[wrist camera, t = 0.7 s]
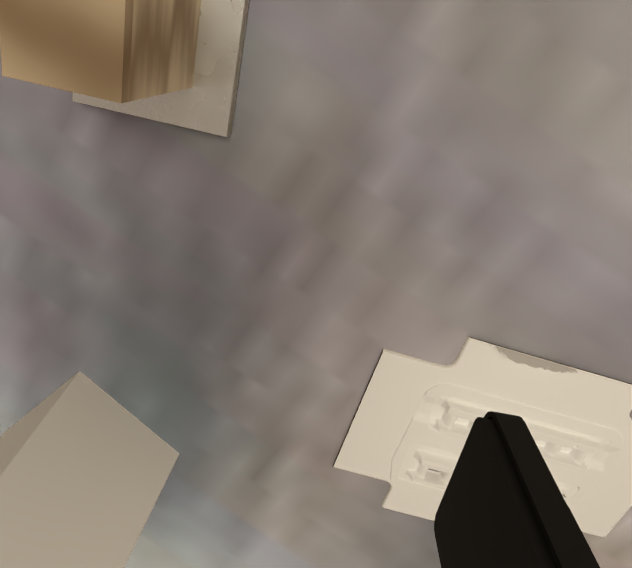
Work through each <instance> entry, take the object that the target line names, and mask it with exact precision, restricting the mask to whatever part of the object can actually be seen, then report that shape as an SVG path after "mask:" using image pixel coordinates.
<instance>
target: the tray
mask: <svg viewBox="0 0 632 568" xmlns="http://www.w3.org/2000/svg"><path fill="white" fill-rule="evenodd" d="M631 410H632V385H631V384H627V383H624V382H621V381H617V380H614V379H611V378H607V377H604V376H600V375H597V374H594V373H590V372H586V371H583V370H579V369H576V368H573V367H569V366H566V365H562V364H559V363H555V362H552V361H548V360H545V359H542V358H538V357H535V356H531V355H528V354H524V353H521V352H518V351H514V350H510V349H507V348H503V347H500V346H496V345H493V344H489V343H486V342H483V341H479V340H475V339H472V338H470V337H469V336H468V338H467V339H466V341H465V343H464V345H463V347H462V349H461V351H460V353H459V355H458V357H457V359H456V360H455V362H453V363H452V364H450V365H440V364H436V363H432V362H429V361H425V360H422V359H418V358H415V357H411V356H408V355H404V354H401V353H397V352H394V351H390V350H387V349H383V353H382V355H381V358H380V360H379V362H378V365H377V367H376V369H375V371H374V374H373V376H372V379H371V381H370V383H369V385H368V387H367V390H366V392H365V394H364V397H363V399H362V401H361V404H360V406H359V408H358V411H357V413H356V415H355V418H354V420H353V422H352V424H351V427H350V429H349V432H348V434H347V436H346V438H345V441H344V443H343V446H342V448H341V450H340V453H339V455H338V457H337V460H336V462H335V464H334V465H333V467H335V468H339V469H343V470H347V471H350V472H354V473H358V474H362V475H366V476H370V477H373V478H377V479H381V480H385V481H387V482H389V483H390V489H389V490H388V492H387V494H386V496H385V498H384V500H383V502H382V504H381V505H382V507H383V508H387V509H391V510H395V511H398V512H402V513H406V514H410V515H414V516H418V517H422V518H426V519H430V520H433V521H435V515H436V512H437V510H438V507H439V505H440V502H441V500H442V498H443V495H444V493H445V490H446V488H447V486H448V483H449V481H450V478H451V476H452V474H453V471H454V469H455V466H456V464H457V461H458V459H459V457H460V454H461V452H462V449H463V447H464V445H465V442H466V440H467V437H468V435H469V433H470V430H471V428H472V425H473V423H474V421H475V419H476V418H477V417H483V418H484V416H485V414H486V413H487V412H489V411H494V412H499V413H505V414H511V415H516V416H520V417H522V418H523V420H524V421H525V423H526V425H527V427H528V429H529V431H530V433H531V435H532V437H533V439H534V441H535V443H536V445H537V447H538V449H539V451H540V453H541V455H542V457H543V459H544V460H545V462H546V464H547V466H548V468H549V470H550V472H551V474H552V476H553V478H554V480H555V482H556V484H557V486H558V488H559V490H560V492H561V494H562V496H563V498H564V500H565V502H566V504H567V505H568V507H569V508H570V510H571V512H572V514H573V516H574V518H575V520H576V522H577V524H578V526H579V527H580V529H581V531H582V532H585V533H589V534H593V535H596V536H600V537H605V536H606V535H607V534H608V533H609V532H610V531H611V529H612V528H613V527H614V526H615V525H616V523H617V522H618V521H619V520H620V519H621V518H622V516H623V515H624V514H625V513H626V512H627V511H628V509H629V508H630V507H631V506H632V418H630V416H629V414H630V411H631ZM429 468H431V469H434V470H438V471H440V472H435V471H431V470H429ZM578 487H579V488H578ZM563 494H564V495H565V496H564V495H563Z"/></svg>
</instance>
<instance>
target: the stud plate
mask: <svg viewBox="0 0 632 568" xmlns="http://www.w3.org/2000/svg"><path fill="white" fill-rule="evenodd" d="M249 2H250V0H201V8H200V18H199V28H198V38H197V48H196V58H195V68H194V78H193V88H189V89H184V90H180V91H175V92H171V93H166V94H162V95H157V96H153V97H148V98H144V99H139V100H135V101H130V102H126V103H117V102H113V101H109V100H104V99H100V98H96V97H92V96H87V95H83V94H79V93H74V92H73V101H74V102H78V103H82V104H87V105H91V106H95V107H100V108H104V109H108V110H112V111H117V112H121V113H125V114H130V115H134V116H138V117H142V118H147V119H151V120H155V121H160V122H164V123H168V124H173V125H177V126H181V127H185V128H190V129H194V130H198V131H203V132H207V133H211V134H215V135H220V136H224V137H227V136H229V135H230V134H231V132H232V125H233V118H234V111H235V103H236V96H237V89H238V81H239V74H240V67H241V60H242V52H243V45H244V38H245V31H246V23H247V16H248V9H249Z"/></svg>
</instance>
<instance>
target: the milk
mask: <svg viewBox="0 0 632 568" xmlns="http://www.w3.org/2000/svg"><path fill="white" fill-rule="evenodd" d="M178 456H179V453H178V452H177V451H175V450H174V449H173V448H172V447H171V446H169V445H168V444H167V443H166V442H165V441H163V440H162V439H161V438H160V437H159V436H157V435H156V434H155V433H154V432H153V431H151V430H150V429H149V428H148V427H147V426H145V425H144V424H143V423H142V422H141V421H139V420H138V419H137V418H136V417H135V416H133V415H132V414H131V413H130V412H129V411H127V410H126V409H125V408H124V407H123V406H121V405H120V404H119V403H118V402H117V401H115V400H114V399H113V398H112V397H111V396H109V395H108V394H107V393H106V392H105V391H103V390H102V389H101V388H100V387H99V386H97V385H96V384H95V383H94V382H93V381H91V380H90V379H89V378H88V377H86V376H85V375H84V374H83V373H82V372H80V371H79V372H78V373H77V374H75V375H74V376H73V377H72V378H70V379H69V380H68V381H67V382H66V383H64V384H63V385H62V386H61V387H59V388H58V389H57V390H56V391H55V392H53V393H52V394H51V395H50V396H48V397H47V398H46V399H45V400H44V401H42V402H41V403H40V404H39V405H37V406H36V407H35V408H34V409H33V410H31V411H30V412H29V413H28V414H26V415H25V416H24V417H23V418H22V419H20V420H19V421H18V422H17V423H15V424H14V425H13V426H12V427H11V428H9V429H8V430H7V431H6V432H4V434H3V435H2V436H1V437H0V568H124V567H125V565H126V563H127V561H128V559H129V556H130V554H131V552H132V550H133V548H134V546H135V544H136V542H137V540H138V538H139V536H140V534H141V532H142V530H143V528H144V526H145V524H146V522H147V519H148V517H149V515H150V513H151V511H152V509H153V507H154V505H155V503H156V501H157V499H158V497H159V495H160V493H161V491H162V489H163V487H164V485H165V482H166V480H167V478H168V476H169V474H170V472H171V470H172V468H173V466H174V464H175V462H176V460H177V458H178Z"/></svg>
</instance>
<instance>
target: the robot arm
mask: <svg viewBox="0 0 632 568" xmlns="http://www.w3.org/2000/svg"><path fill="white" fill-rule="evenodd" d="M434 531H435V538H436V543H437V548H438V553H439V558H440V563H441V568H600V567H599V565H598V563H597V561H596V559H595V557H594V555H593V553H592V551H591V549H590V547H589V545H588V543H587V541H586V539H585V537H584V535H583V533H582V531H581V529H580V527H579V526H578V524H577V522H576V520H575V518H574V516H573V514H572V512H571V510H570V508H569V507H568V505H567V504H566V502H565V500H564V498H563V496H562V494H561V492H560V490H559V488H558V486H557V484H556V482H555V480H554V478H553V476H552V474H551V472H550V470H549V468H548V466H547V464H546V462H545V460H544V459H543V457H542V455H541V453H540V451H539V449H538V447H537V445H536V443H535V441H534V439H533V437H532V435H531V433H530V431H529V429H528V427H527V425H526V423H525V421H524V420H523V418H522V417H520V416H516V415H511V414H505V413H499V412H494V411H489V412H487V413H486V414H485V416H484V418H483V417H477V418H476V419H475V421H474V423H473V425H472V428H471V430H470V433H469V435H468V437H467V440H466V442H465V445H464V447H463V449H462V452H461V454H460V457H459V459H458V461H457V464H456V466H455V469H454V471H453V474H452V476H451V478H450V481H449V483H448V486H447V488H446V490H445V493H444V495H443V498H442V500H441V502H440V505H439V507H438V510H437V512H436V515H435V522H434Z"/></svg>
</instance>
